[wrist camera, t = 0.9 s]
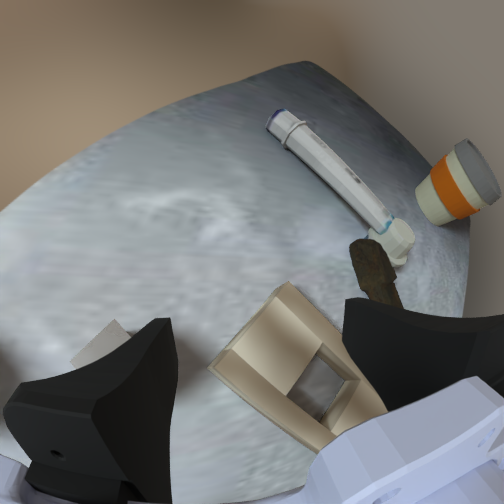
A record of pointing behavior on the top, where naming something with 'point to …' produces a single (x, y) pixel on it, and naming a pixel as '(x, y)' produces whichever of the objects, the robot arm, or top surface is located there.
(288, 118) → the white elongated piece
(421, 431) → the robot arm
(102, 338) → the pale grey block
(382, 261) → the dark brown wood piece
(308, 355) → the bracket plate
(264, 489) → the top surface
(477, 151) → the reusable coffee cup
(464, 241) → the top surface
